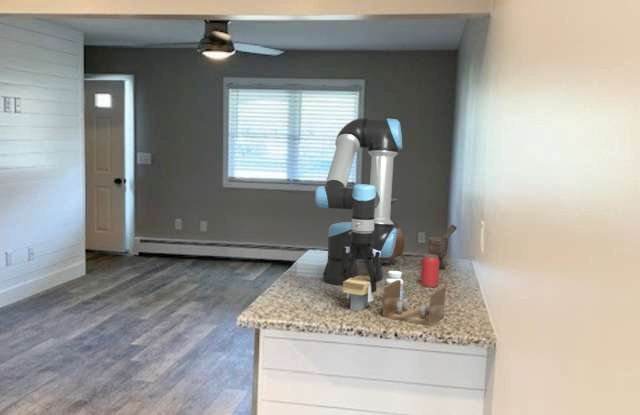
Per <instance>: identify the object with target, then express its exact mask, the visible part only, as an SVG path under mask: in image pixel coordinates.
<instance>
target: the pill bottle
mask: <svg viewBox="0 0 640 415" xmlns="http://www.w3.org/2000/svg"><path fill="white" fill-rule="evenodd" d="M402 273H403V272H402V271H400V270H399V271H397V270H389V271H388V273H387V278H386V279H385V285H384V286H386V285H388V284H390V283H392V282H394V281H396V280H401V286H400V301H402V298H404V280H403V279H402V275H403V274H402Z"/></svg>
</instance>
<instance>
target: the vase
mask: <svg viewBox="0 0 640 415" xmlns="http://www.w3.org/2000/svg"><path fill="white" fill-rule="evenodd" d="M397 201H398V198H392V197H391V205H392V204H393V203H396V202H397ZM390 220H391V221H392V222H393V223H394V227H393V228H396V229H397V238H396V243H395V248H394V251H393V254H392V256H391V257H389V258H381V265H382V264H389V263H390V262H391V261H393V260H394V259H396V258H398V257H400V256H402V255H403V254H404V248H405V237H404V235H403V230H402V229H401V227H400V225H398V223H396V222H395V221H394V220H392V219H391V217H390ZM371 258H372V261H375V257H371Z"/></svg>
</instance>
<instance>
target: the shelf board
mask: <svg viewBox="0 0 640 415" xmlns="http://www.w3.org/2000/svg"><path fill="white" fill-rule="evenodd" d="M369 282H371V280H370V277H369V275H368V276H367V275H361V274H360V275H358V276H356V277H353V278H351V279H349V280H346V281H344V282H343V285H342V293H346V294H347V293H350V294H356V295H364V294H366V293H368V284H369ZM378 282H379V281H378ZM378 282H377V283H376V289H378Z"/></svg>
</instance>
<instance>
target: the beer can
mask: <svg viewBox="0 0 640 415" xmlns="http://www.w3.org/2000/svg"><path fill="white" fill-rule="evenodd" d="M439 273H440V268H439V258H438V256H437V255H433V254H429V253H427V254H424V255H423V258H422V261H421V280H420V284H421V286H422V287H425V288H437V287H438V286H439V278H440V277H439V275H440V274H439Z"/></svg>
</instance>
